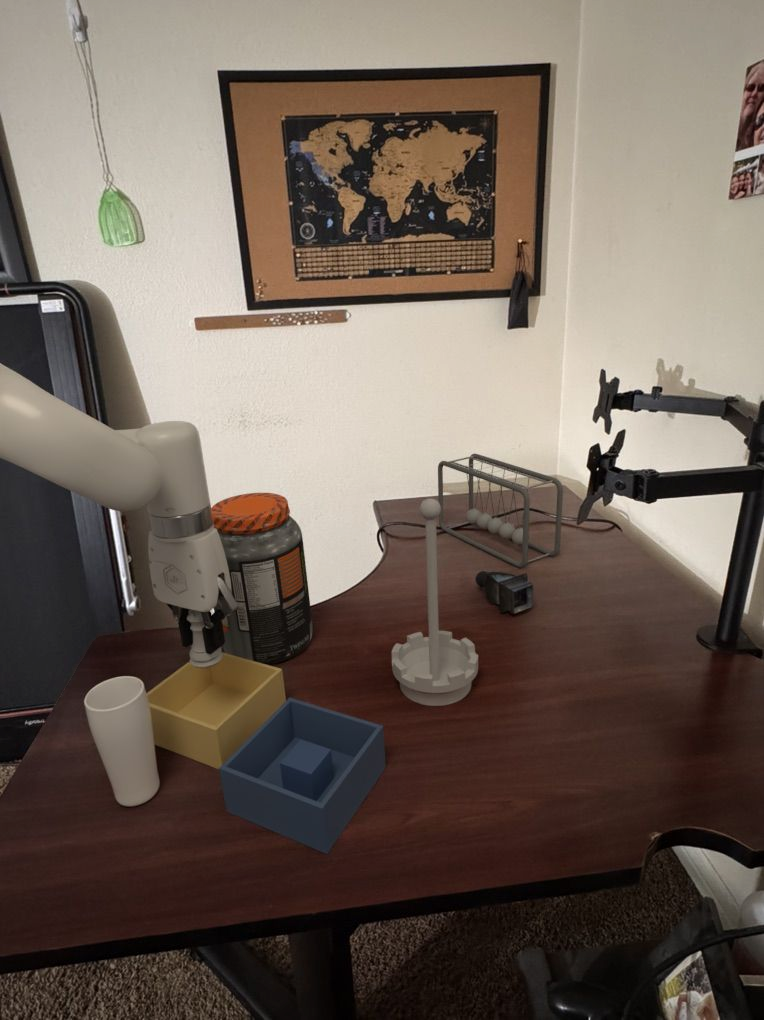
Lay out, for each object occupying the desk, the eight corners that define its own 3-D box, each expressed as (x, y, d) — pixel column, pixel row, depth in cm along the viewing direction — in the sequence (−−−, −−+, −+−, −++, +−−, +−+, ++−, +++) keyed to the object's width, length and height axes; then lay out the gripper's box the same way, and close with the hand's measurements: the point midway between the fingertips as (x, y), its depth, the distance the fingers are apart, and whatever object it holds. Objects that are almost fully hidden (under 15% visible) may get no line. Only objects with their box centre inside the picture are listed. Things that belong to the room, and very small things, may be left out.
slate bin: (327, 854, 69) (322, 808, 66) (226, 811, 75) (218, 768, 73) (386, 767, 80) (383, 725, 78) (294, 736, 87) (289, 697, 84)
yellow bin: (223, 771, 81) (215, 729, 79) (144, 740, 88) (135, 701, 85) (287, 706, 93) (282, 668, 91) (213, 683, 99) (207, 647, 97)
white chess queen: (183, 663, 86) (173, 612, 83) (208, 648, 90) (200, 598, 87) (205, 673, 84) (195, 621, 81) (230, 657, 87) (222, 606, 84)
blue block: (314, 804, 75) (310, 774, 73) (283, 792, 77) (279, 762, 75) (334, 778, 78) (331, 749, 77) (304, 767, 80) (300, 738, 79)
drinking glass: (139, 766, 83) (116, 670, 78) (178, 781, 80) (157, 682, 75) (97, 803, 77) (69, 702, 72) (137, 821, 74) (111, 717, 69)
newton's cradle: (560, 558, 135) (564, 480, 129) (524, 571, 130) (527, 490, 124) (471, 519, 159) (471, 451, 153) (438, 529, 154) (436, 459, 148)
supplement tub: (235, 621, 117) (215, 490, 108) (319, 619, 116) (306, 486, 107) (210, 671, 102) (185, 524, 93) (306, 669, 102) (289, 520, 93)
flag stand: (486, 706, 91) (488, 512, 80) (396, 714, 90) (386, 519, 80) (468, 655, 103) (468, 481, 92) (389, 662, 102) (379, 487, 92)
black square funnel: (491, 583, 126) (491, 554, 124) (537, 610, 115) (538, 578, 113) (465, 592, 123) (465, 562, 121) (510, 620, 112) (510, 588, 110)
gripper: (112, 522, 80) (139, 646, 86) (212, 540, 73) (233, 674, 79) (156, 503, 86) (179, 620, 93) (252, 518, 79) (269, 644, 85)
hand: (203, 644), depth 86 cm, fingers closed on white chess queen, 3 cm apart
